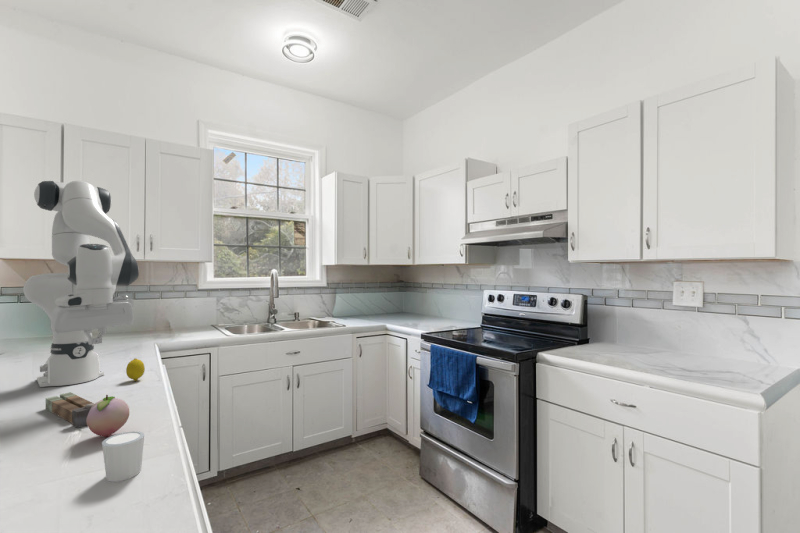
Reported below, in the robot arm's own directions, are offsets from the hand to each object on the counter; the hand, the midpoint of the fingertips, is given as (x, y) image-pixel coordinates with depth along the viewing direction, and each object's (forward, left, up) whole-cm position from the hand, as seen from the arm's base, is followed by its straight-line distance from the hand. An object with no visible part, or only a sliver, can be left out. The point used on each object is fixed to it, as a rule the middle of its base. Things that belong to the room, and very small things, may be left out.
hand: (95, 343), depth 121 cm
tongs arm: (+4, -6, -17) cm, 19 cm away
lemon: (-16, +17, -18) cm, 30 cm away
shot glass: (+55, -15, -18) cm, 60 cm away
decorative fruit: (+32, -9, -18) cm, 38 cm away
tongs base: (+7, -7, -18) cm, 20 cm away
